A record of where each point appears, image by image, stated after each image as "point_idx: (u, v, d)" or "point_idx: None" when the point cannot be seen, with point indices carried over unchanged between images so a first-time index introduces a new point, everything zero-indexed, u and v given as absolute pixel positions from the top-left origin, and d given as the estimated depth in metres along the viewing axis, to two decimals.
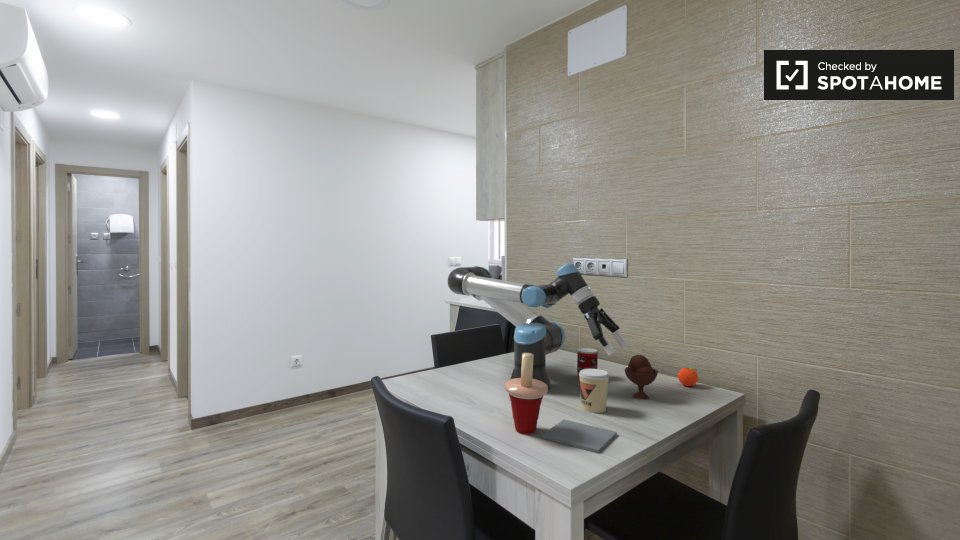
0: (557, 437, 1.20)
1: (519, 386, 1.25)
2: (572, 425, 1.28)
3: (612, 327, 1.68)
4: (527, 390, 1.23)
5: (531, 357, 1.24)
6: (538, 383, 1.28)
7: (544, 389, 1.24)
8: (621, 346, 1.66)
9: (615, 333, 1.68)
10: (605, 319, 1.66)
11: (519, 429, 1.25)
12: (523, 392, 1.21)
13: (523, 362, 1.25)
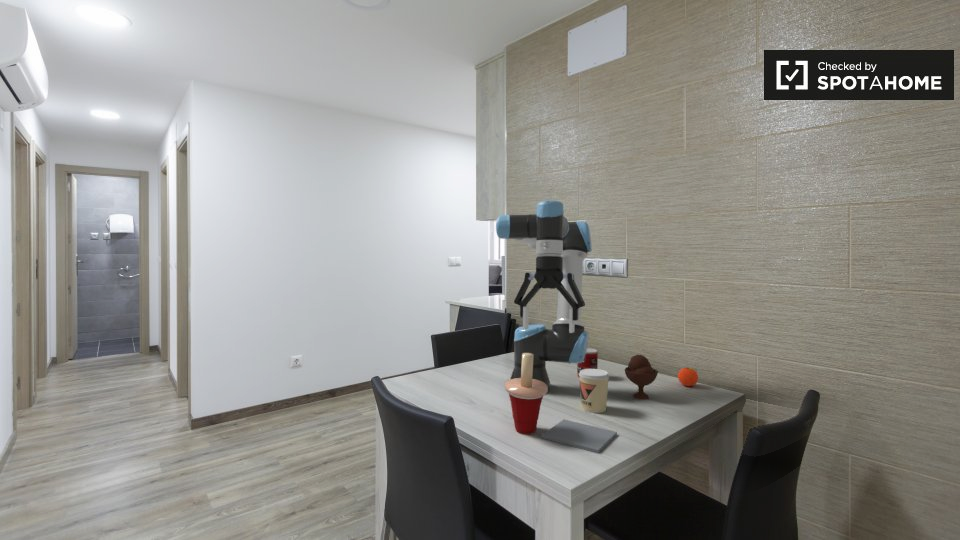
0: (557, 437, 1.20)
1: (519, 386, 1.25)
2: (572, 425, 1.28)
3: None
4: (527, 390, 1.23)
5: (531, 357, 1.24)
6: (538, 383, 1.28)
7: (544, 389, 1.24)
8: None
9: None
10: None
11: (519, 429, 1.25)
12: (523, 392, 1.21)
13: (523, 362, 1.25)
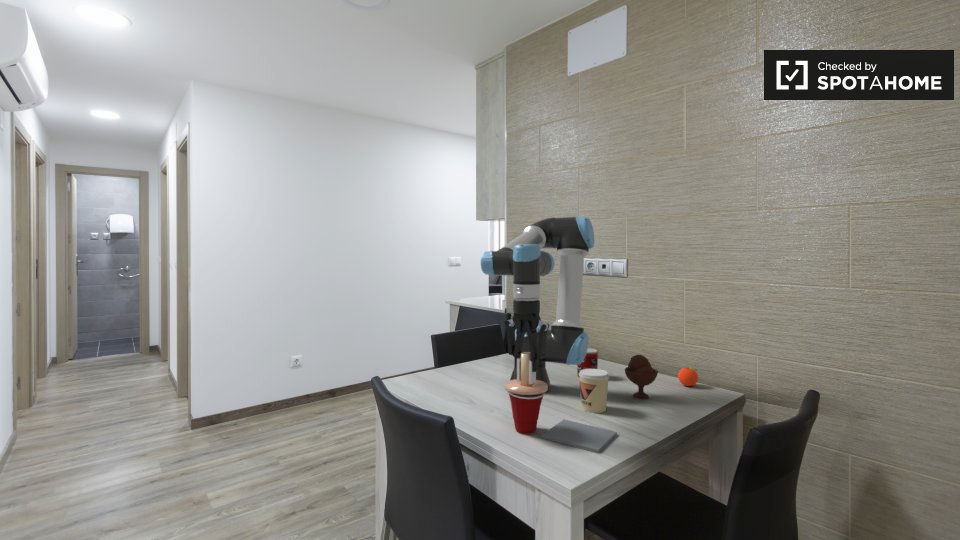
0: (557, 437, 1.20)
1: (519, 385, 1.25)
2: (572, 425, 1.28)
3: None
4: (527, 388, 1.23)
5: (530, 355, 1.25)
6: (538, 383, 1.28)
7: (544, 387, 1.24)
8: None
9: None
10: None
11: (519, 429, 1.25)
12: (523, 390, 1.21)
13: (522, 361, 1.25)
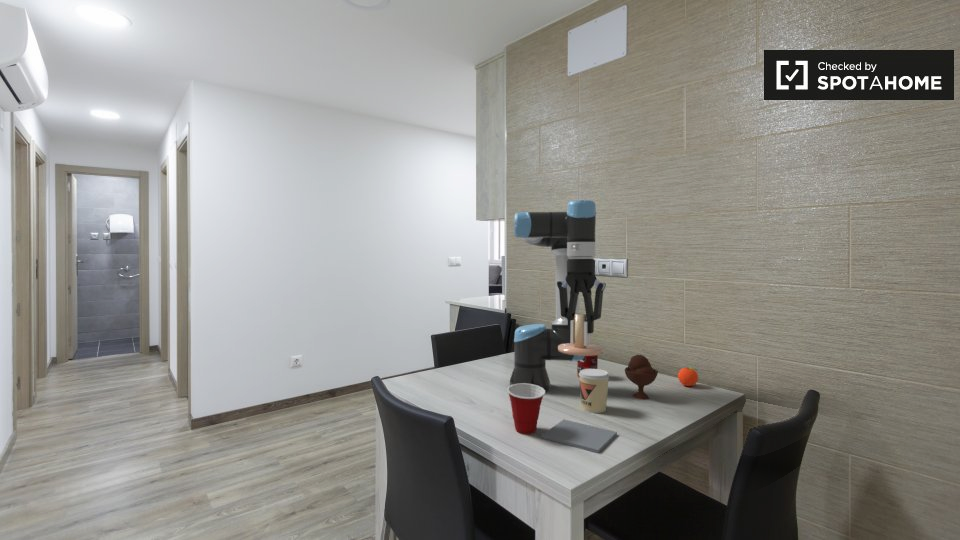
0: (557, 437, 1.20)
1: (573, 347, 1.21)
2: (572, 425, 1.28)
3: None
4: (583, 350, 1.18)
5: (585, 316, 1.20)
6: (592, 346, 1.23)
7: (600, 349, 1.19)
8: None
9: None
10: None
11: (519, 429, 1.25)
12: (579, 351, 1.16)
13: (576, 322, 1.20)
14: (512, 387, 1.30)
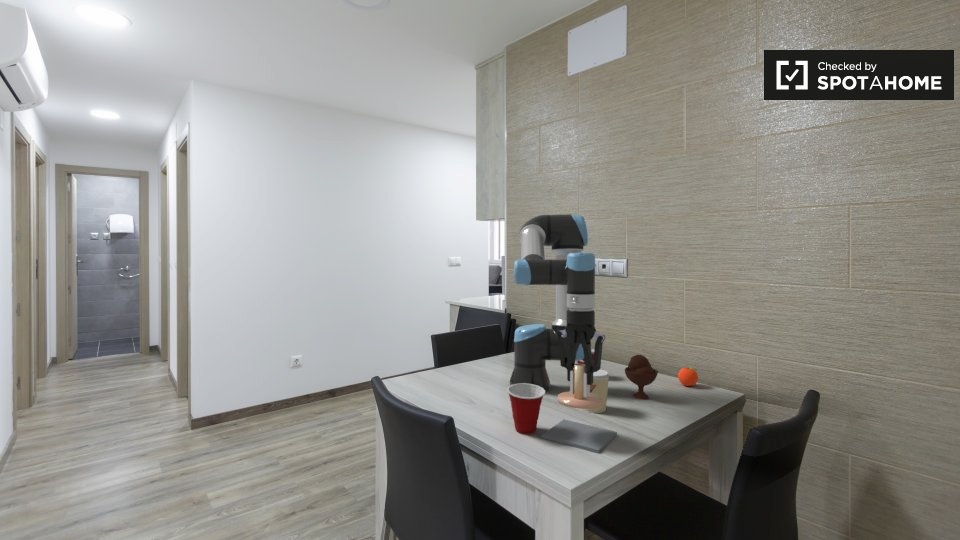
0: (557, 437, 1.20)
1: (573, 398, 1.21)
2: (572, 425, 1.28)
3: None
4: (582, 402, 1.18)
5: (584, 367, 1.21)
6: (592, 396, 1.24)
7: (599, 400, 1.20)
8: None
9: None
10: None
11: (519, 429, 1.25)
12: (579, 403, 1.17)
13: (576, 373, 1.21)
14: (512, 387, 1.30)
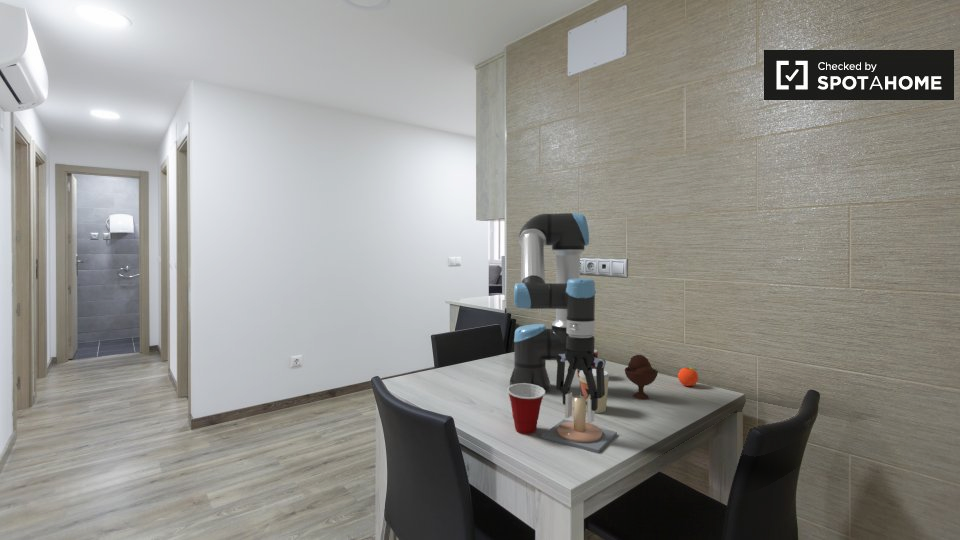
0: (557, 437, 1.20)
1: (572, 431, 1.22)
2: None
3: None
4: (582, 435, 1.19)
5: (584, 400, 1.21)
6: (591, 427, 1.24)
7: (599, 433, 1.20)
8: None
9: None
10: None
11: (519, 429, 1.25)
12: (579, 437, 1.17)
13: (576, 406, 1.21)
14: (512, 387, 1.30)
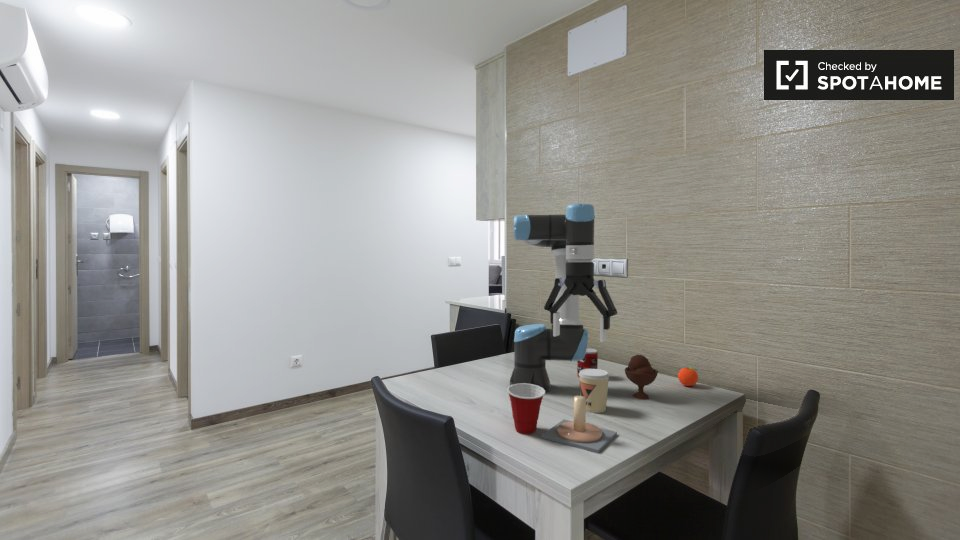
0: (557, 437, 1.20)
1: (572, 431, 1.22)
2: None
3: None
4: (582, 435, 1.19)
5: (584, 400, 1.21)
6: (591, 427, 1.24)
7: (599, 433, 1.20)
8: None
9: None
10: None
11: (519, 429, 1.25)
12: (579, 437, 1.17)
13: (576, 406, 1.21)
14: (512, 387, 1.30)
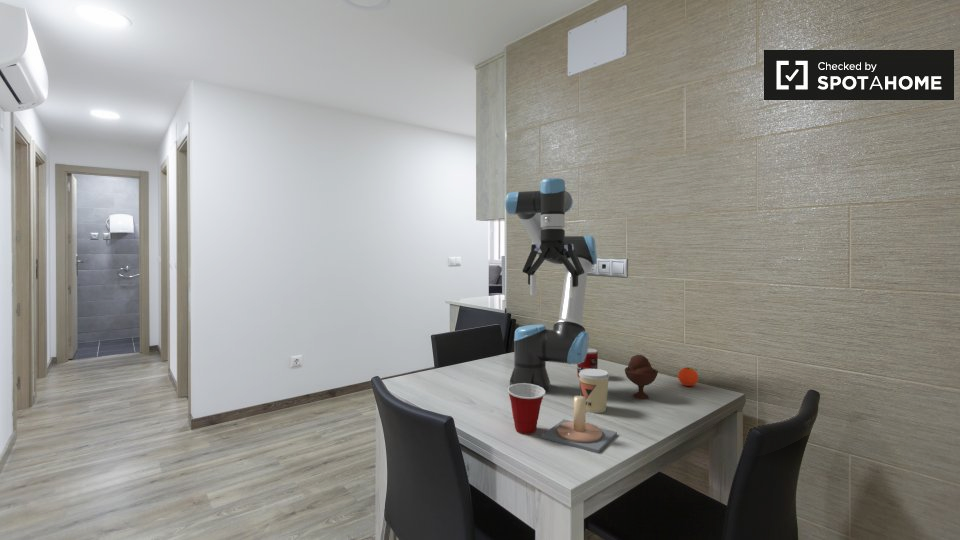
0: (557, 437, 1.20)
1: (572, 431, 1.22)
2: None
3: None
4: (582, 435, 1.19)
5: (584, 400, 1.21)
6: (591, 427, 1.24)
7: (599, 433, 1.20)
8: None
9: None
10: None
11: (519, 429, 1.25)
12: (579, 437, 1.18)
13: (576, 406, 1.21)
14: (512, 387, 1.30)
